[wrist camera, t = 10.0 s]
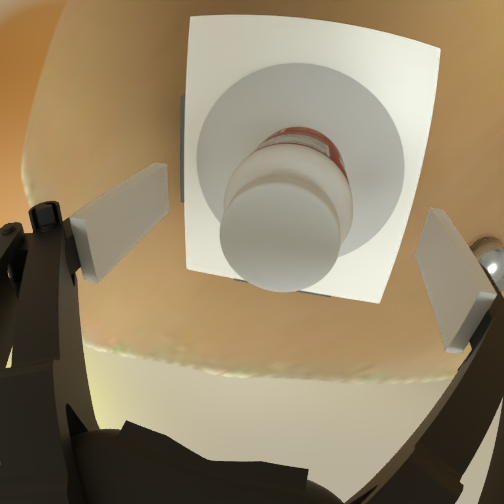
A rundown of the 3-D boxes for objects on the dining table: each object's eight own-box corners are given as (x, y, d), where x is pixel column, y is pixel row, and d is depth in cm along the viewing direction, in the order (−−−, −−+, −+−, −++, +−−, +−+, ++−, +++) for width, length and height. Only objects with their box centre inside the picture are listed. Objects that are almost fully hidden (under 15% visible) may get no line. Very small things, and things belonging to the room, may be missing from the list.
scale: (198, 22, 20) (177, 14, 17) (427, 51, 18) (446, 47, 14) (193, 256, 32) (177, 279, 29) (374, 288, 30) (378, 316, 26)
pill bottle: (331, 218, 23) (332, 322, 13) (249, 198, 23) (195, 288, 14) (353, 137, 19) (383, 188, 10) (263, 116, 20) (208, 147, 11)
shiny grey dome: (473, 232, 24) (486, 247, 22) (509, 241, 24) (522, 256, 21) (456, 276, 27) (466, 293, 24) (491, 282, 26) (502, 299, 24)
